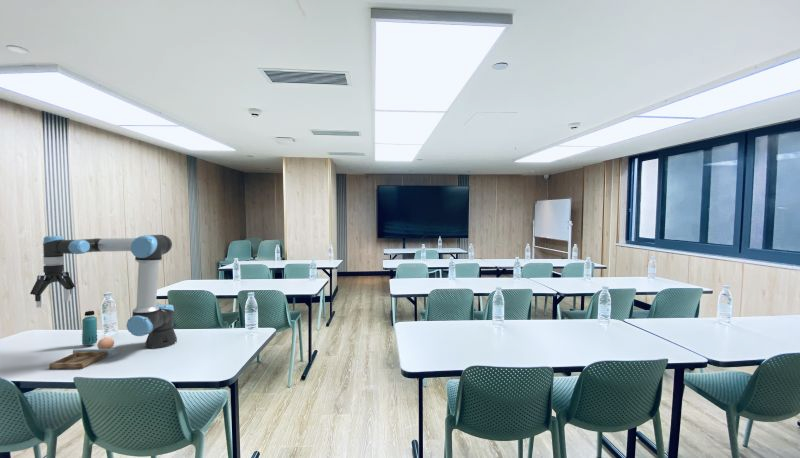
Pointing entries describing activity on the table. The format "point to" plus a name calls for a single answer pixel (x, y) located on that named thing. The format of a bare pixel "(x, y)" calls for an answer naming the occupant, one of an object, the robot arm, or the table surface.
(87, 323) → the beverage bottle
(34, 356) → the table surface
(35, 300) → the robot arm
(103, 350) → the acrylic divider
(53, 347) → the table surface
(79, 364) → the walnut tray
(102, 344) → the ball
